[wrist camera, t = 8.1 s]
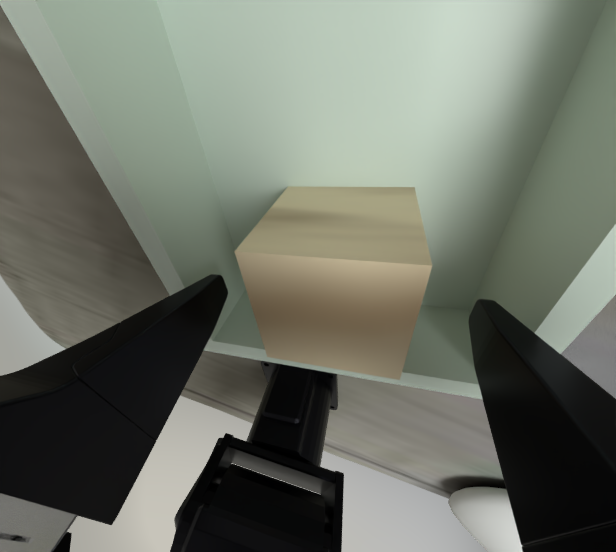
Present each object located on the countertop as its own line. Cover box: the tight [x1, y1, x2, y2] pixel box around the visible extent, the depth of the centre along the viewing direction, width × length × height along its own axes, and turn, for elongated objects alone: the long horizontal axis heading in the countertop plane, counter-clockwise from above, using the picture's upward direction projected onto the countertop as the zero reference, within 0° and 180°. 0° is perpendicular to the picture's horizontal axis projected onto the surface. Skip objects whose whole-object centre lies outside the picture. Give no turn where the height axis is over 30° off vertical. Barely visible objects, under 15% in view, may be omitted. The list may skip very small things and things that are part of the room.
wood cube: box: [234, 186, 432, 380], centre depth 10 cm, size 5×5×5 cm
